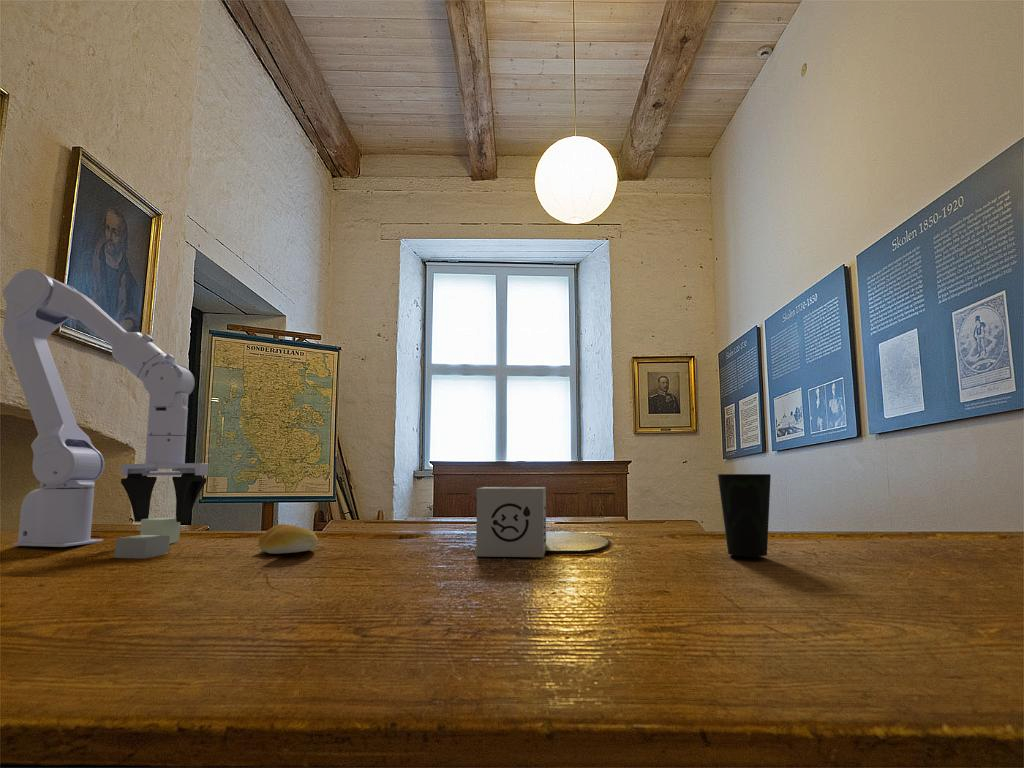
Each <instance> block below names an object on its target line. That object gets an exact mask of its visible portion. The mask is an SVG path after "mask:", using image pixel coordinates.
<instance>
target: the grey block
mask: <svg viewBox="0 0 1024 768" xmlns="http://www.w3.org/2000/svg"><path fill="white" fill-rule="evenodd" d="M169 538H170V536H162V535H137V534H136V535H131V536H123V537H116V538H115V545H114V546H115V547H114V558H117V559H150V558H156V556H157V557H160V556H159V555H161V554H164V553H166V552H170V545H169Z"/></svg>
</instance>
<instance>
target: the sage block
mask: <svg viewBox="0 0 1024 768" xmlns="http://www.w3.org/2000/svg"><path fill="white" fill-rule="evenodd" d="M181 523H182V522H177V521H176V517H153V518H151V517H150V518H148V519H141V522H140V532H139V534H140V535H162V536H170V538H169V544H170V543H173V542H176V541H177V540H179V541H180V535H181Z"/></svg>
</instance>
